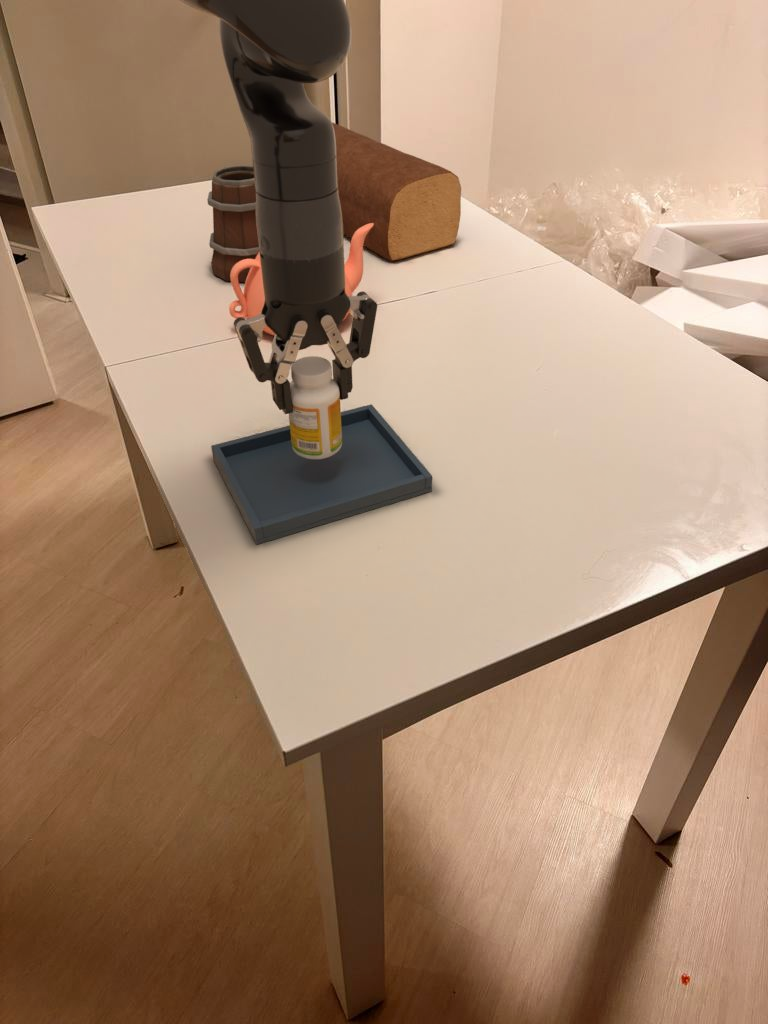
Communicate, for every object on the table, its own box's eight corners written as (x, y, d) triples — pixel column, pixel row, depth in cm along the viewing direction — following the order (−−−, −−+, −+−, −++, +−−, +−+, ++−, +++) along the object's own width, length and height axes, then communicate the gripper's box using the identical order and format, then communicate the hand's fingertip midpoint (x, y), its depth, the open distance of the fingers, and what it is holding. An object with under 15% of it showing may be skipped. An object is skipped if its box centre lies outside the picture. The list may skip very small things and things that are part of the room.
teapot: (356, 284, 126) (353, 204, 118) (397, 326, 115) (397, 240, 107) (218, 310, 119) (206, 227, 111) (248, 358, 108) (236, 269, 100)
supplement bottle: (330, 427, 88) (326, 347, 82) (350, 452, 84) (346, 371, 78) (284, 439, 86) (276, 359, 80) (302, 466, 83) (295, 384, 76)
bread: (342, 184, 162) (338, 112, 154) (462, 244, 137) (466, 162, 129) (274, 200, 156) (267, 125, 147) (388, 266, 131) (387, 181, 122)
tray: (256, 544, 80) (254, 529, 78) (213, 460, 90) (210, 445, 89) (432, 491, 86) (432, 475, 84) (372, 418, 97) (371, 403, 95)
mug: (295, 274, 129) (287, 178, 119) (222, 288, 125) (207, 190, 115) (266, 241, 140) (256, 150, 130) (198, 252, 136) (182, 160, 126)
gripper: (358, 213, 76) (363, 370, 87) (210, 239, 71) (234, 401, 82) (392, 240, 71) (392, 404, 82) (235, 270, 66) (257, 439, 77)
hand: (313, 402), depth 82 cm, fingers closed on supplement bottle, 5 cm apart
